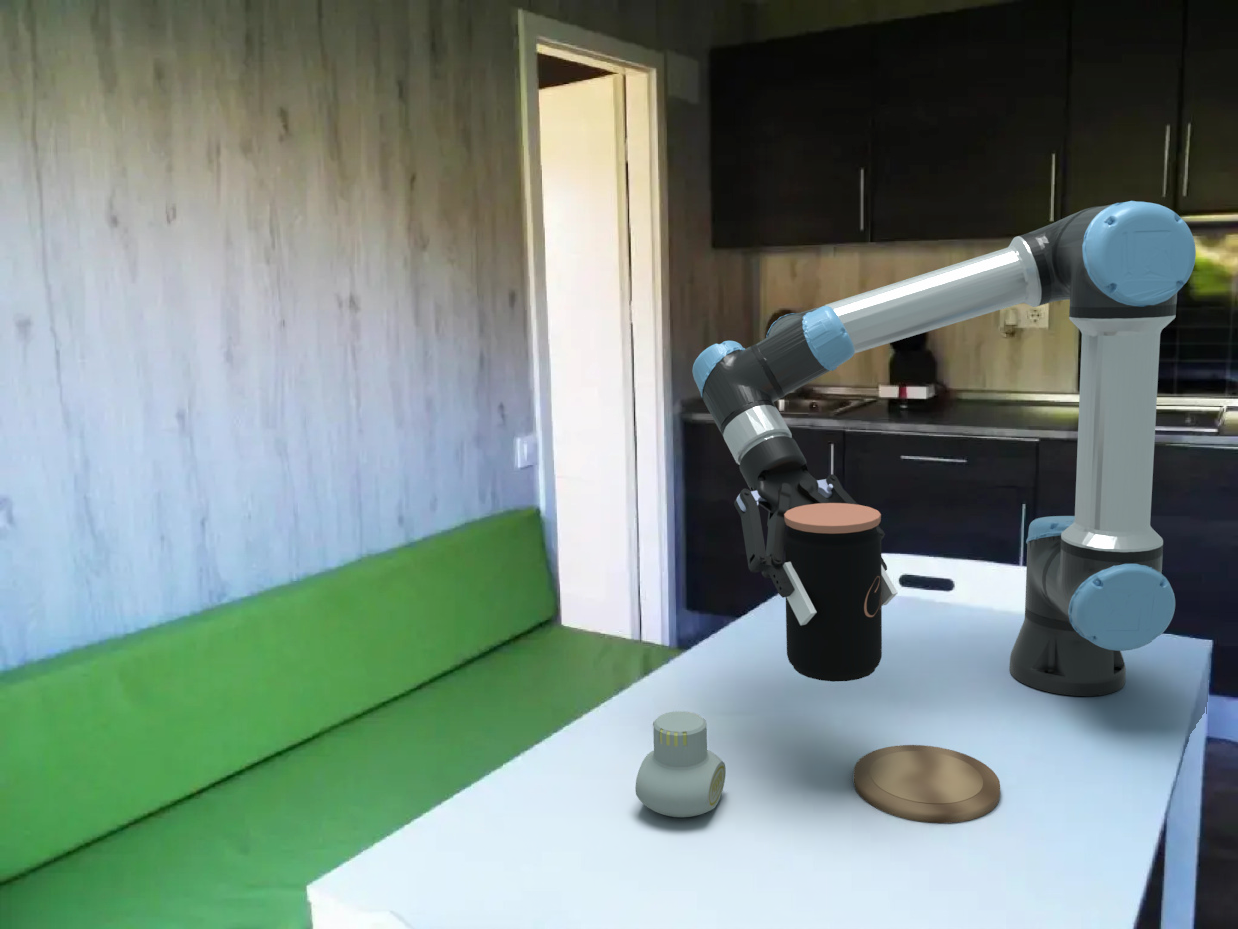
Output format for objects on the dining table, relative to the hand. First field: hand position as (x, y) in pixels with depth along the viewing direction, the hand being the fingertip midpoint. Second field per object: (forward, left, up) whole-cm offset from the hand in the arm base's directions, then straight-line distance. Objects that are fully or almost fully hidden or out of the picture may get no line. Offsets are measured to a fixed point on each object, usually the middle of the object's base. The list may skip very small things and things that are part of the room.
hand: (850, 609), depth 117 cm
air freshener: (+19, +2, -21) cm, 29 cm away
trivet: (-9, +1, -21) cm, 23 cm away
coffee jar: (+1, -3, -8) cm, 8 cm away
